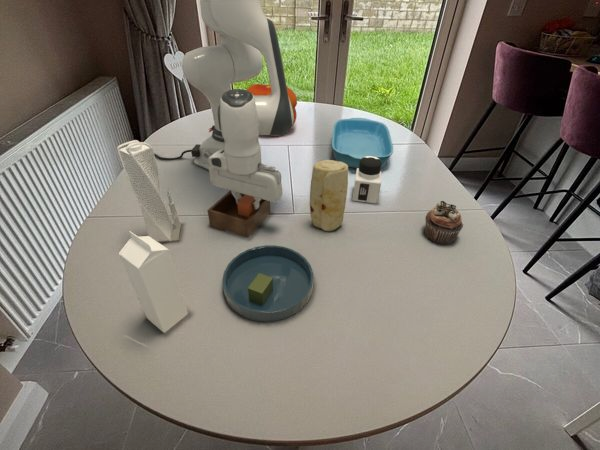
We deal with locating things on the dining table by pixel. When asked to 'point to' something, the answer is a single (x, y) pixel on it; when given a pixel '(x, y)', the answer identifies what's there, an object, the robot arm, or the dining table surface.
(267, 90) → the pumpkin
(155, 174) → the skyscraper
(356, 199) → the container
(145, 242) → the milk
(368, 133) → the casserole dish
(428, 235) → the cupcake
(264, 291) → the green cube
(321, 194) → the food model
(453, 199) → the dining table surface
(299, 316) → the dining table surface
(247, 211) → the orange block
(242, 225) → the holder
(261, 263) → the bowl
